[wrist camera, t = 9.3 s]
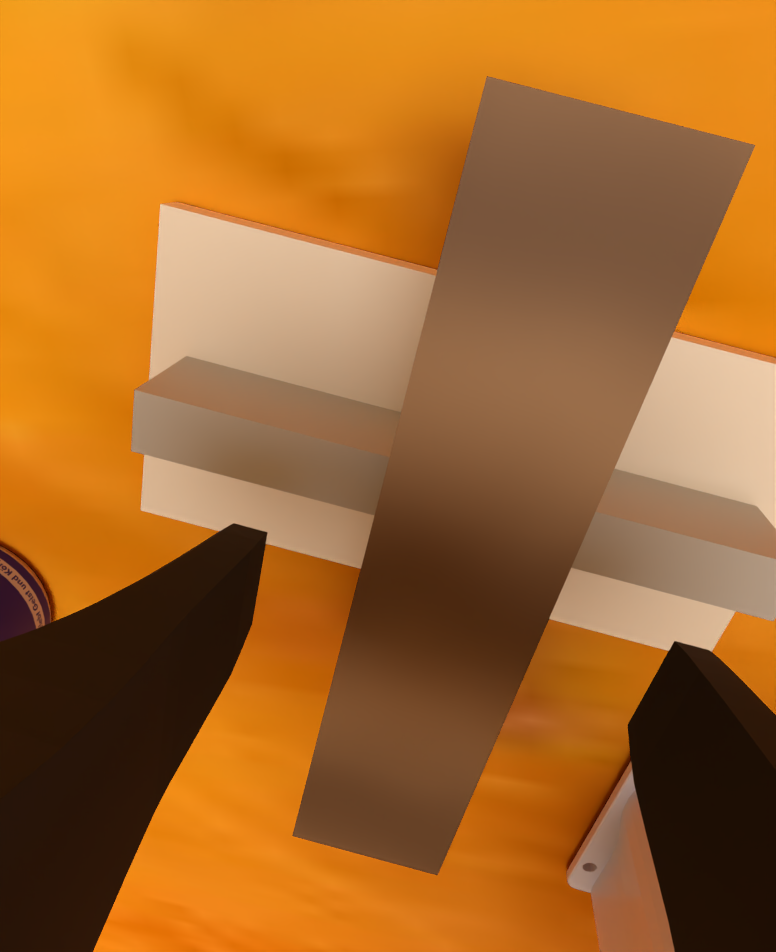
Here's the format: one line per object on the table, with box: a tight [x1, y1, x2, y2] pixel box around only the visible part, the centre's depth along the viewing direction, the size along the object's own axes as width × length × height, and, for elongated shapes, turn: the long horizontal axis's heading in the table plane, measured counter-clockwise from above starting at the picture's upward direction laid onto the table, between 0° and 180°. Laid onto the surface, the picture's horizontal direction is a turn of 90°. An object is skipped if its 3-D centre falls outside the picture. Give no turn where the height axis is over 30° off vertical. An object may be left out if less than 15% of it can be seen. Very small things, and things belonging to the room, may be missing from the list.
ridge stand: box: [131, 202, 776, 652], centre depth 17 cm, size 9×18×4 cm, turn 77°
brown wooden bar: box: [293, 76, 755, 875], centre depth 14 cm, size 16×4×4 cm, turn 167°
